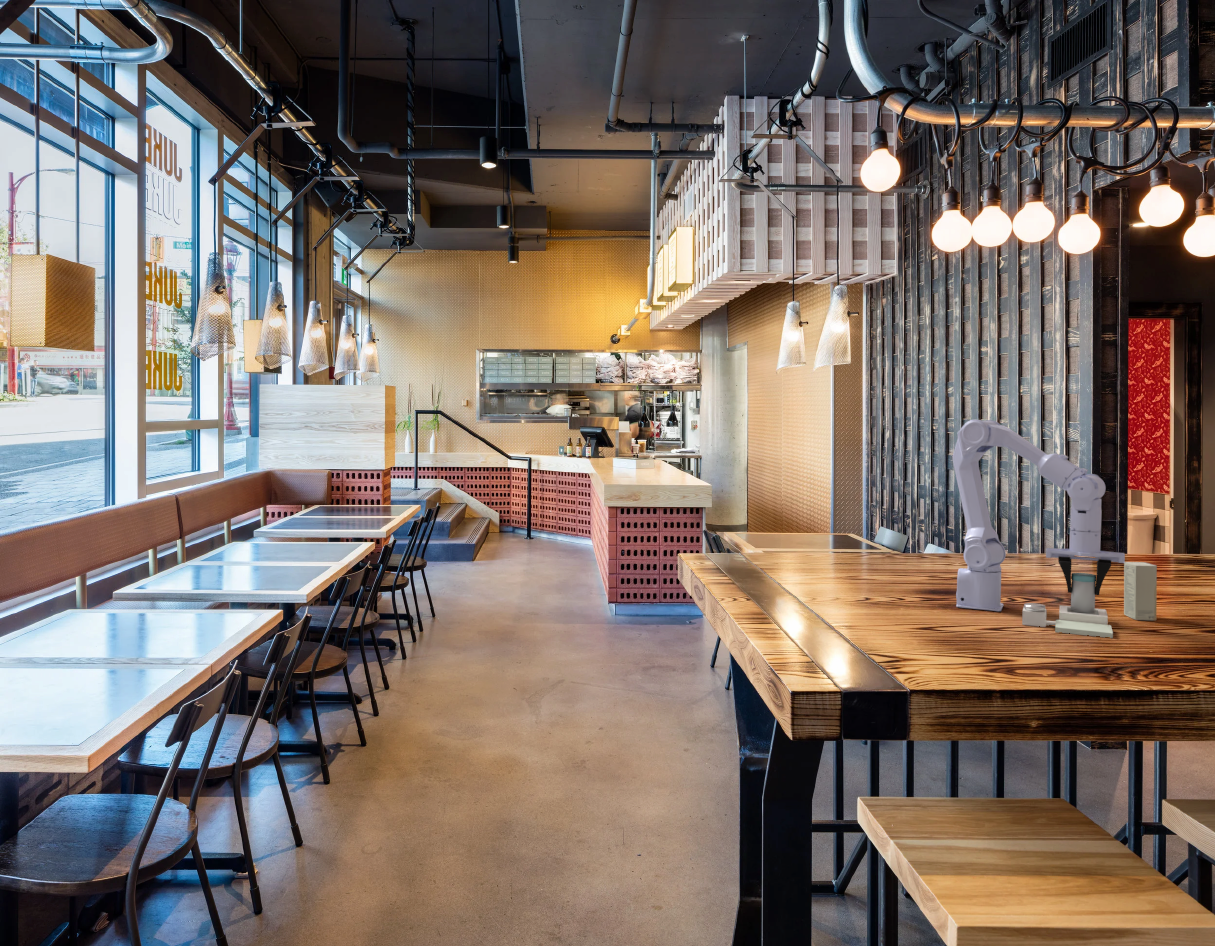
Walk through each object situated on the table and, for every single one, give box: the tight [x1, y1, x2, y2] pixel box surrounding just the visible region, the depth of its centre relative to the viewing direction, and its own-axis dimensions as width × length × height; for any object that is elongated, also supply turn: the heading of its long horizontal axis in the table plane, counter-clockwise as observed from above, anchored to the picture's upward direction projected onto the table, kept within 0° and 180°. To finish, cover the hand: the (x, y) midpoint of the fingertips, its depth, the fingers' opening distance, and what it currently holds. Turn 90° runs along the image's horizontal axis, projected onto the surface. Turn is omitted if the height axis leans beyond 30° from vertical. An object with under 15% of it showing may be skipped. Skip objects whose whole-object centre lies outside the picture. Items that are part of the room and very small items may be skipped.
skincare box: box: [1123, 561, 1158, 622], centre depth 177 cm, size 6×4×12 cm
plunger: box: [1023, 602, 1046, 612], centre depth 171 cm, size 4×4×4 cm
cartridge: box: [1070, 572, 1097, 614], centre depth 172 cm, size 5×5×8 cm
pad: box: [1054, 619, 1114, 639], centre depth 165 cm, size 10×8×1 cm
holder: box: [1021, 604, 1109, 628], centre depth 172 cm, size 16×14×3 cm
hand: (1083, 593), depth 172 cm, fingers closed on cartridge, 4 cm apart
